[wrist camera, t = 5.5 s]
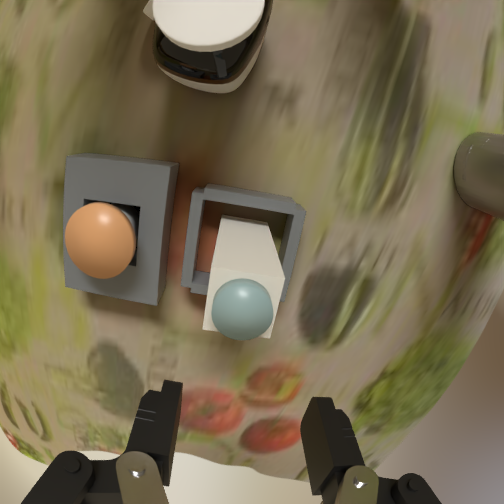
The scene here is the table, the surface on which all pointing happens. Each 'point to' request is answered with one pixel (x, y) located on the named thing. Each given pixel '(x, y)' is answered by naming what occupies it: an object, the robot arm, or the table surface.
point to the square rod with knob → (243, 280)
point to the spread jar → (208, 40)
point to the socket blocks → (159, 222)
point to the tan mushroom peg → (102, 238)
